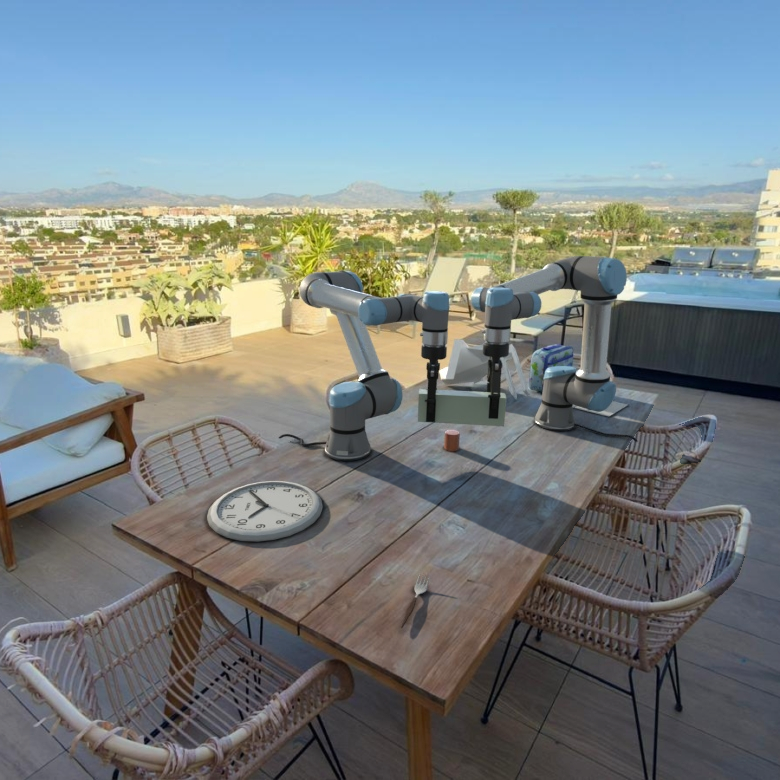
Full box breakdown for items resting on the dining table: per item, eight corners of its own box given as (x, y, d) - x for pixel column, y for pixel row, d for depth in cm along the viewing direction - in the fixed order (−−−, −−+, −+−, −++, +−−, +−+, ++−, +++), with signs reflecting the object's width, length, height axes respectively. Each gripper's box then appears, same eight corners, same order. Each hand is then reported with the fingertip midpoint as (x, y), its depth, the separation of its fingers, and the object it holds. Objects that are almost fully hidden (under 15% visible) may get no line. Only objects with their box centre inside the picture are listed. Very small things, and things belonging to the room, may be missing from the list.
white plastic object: (461, 429, 252) (437, 405, 227) (444, 352, 274) (420, 323, 250) (535, 404, 240) (518, 377, 215) (510, 326, 262) (492, 293, 237)
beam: (502, 420, 162) (504, 393, 159) (504, 426, 157) (506, 398, 154) (418, 416, 165) (419, 388, 162) (417, 421, 160) (418, 393, 157)
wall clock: (320, 533, 126) (192, 537, 124) (320, 539, 127) (193, 543, 124) (324, 476, 155) (220, 479, 152) (324, 481, 155) (221, 484, 153)
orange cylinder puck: (458, 445, 183) (459, 430, 181) (458, 451, 178) (459, 435, 177) (444, 445, 184) (445, 429, 182) (444, 450, 179) (444, 434, 177)
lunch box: (545, 397, 238) (550, 352, 231) (524, 391, 245) (529, 348, 239) (572, 386, 255) (578, 344, 249) (552, 381, 262) (557, 340, 256)
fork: (394, 628, 99) (394, 619, 99) (419, 578, 113) (419, 570, 113) (407, 632, 98) (408, 623, 98) (430, 581, 113) (431, 573, 112)
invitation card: (608, 416, 214) (573, 407, 224) (608, 416, 214) (573, 408, 224) (628, 404, 229) (594, 396, 238) (628, 405, 229) (594, 397, 238)
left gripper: (423, 337, 164) (420, 408, 171) (419, 350, 147) (416, 428, 154) (447, 339, 163) (443, 409, 170) (446, 352, 146) (442, 429, 153)
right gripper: (481, 332, 165) (477, 396, 171) (485, 351, 141) (481, 424, 147) (505, 333, 164) (500, 397, 170) (514, 352, 140) (508, 426, 147)
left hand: (430, 418), depth 162 cm, fingers closed on beam, 5 cm apart
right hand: (491, 410), depth 159 cm, fingers open, 13 cm apart
